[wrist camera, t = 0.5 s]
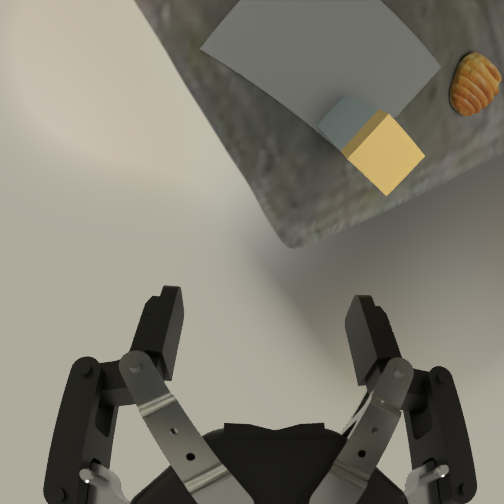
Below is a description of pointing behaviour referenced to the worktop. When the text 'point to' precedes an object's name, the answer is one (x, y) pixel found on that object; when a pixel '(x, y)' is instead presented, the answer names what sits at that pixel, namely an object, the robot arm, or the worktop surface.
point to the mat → (323, 54)
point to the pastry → (474, 84)
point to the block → (371, 142)
